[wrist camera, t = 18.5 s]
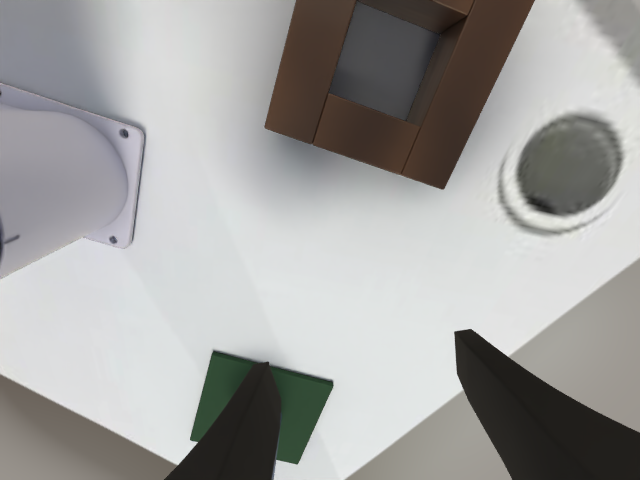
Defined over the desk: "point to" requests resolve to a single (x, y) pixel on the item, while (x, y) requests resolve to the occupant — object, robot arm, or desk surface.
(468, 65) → the holder
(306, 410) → the mat
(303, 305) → the desk surface
